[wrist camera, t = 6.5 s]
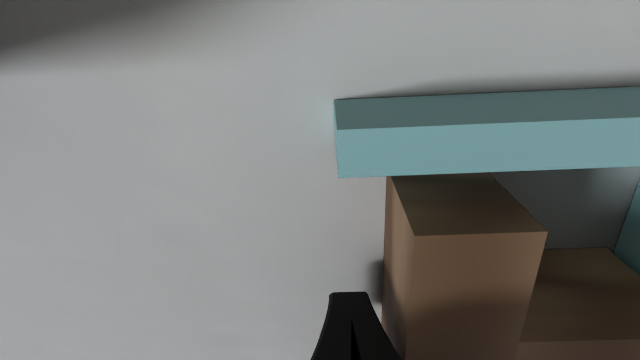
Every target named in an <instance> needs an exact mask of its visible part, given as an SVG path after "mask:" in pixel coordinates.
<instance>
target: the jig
mask: <svg viewBox="0 0 640 360" xmlns="http://www.w3.org/2000/svg"><path fill="white" fill-rule="evenodd" d="M334 127H335V145H336V156H337V167H338V178H349V177H375V176H401V175H427V174H453V173H480V172H506V171H532V170H558V169H584V168H610V167H637V166H640V86H639V87H616V88H593V89H571V90H548V91H525V92H502V93H479V94H457V95H434V96H411V97H388V98H365V99H343V100H334ZM613 254H614V255H615V256H616V257H618V258H619V259H620V260H621V261H622V262H624V263H625V264H626V265H627V266H628V267H629V268H631V269H632V270H633V271H634V272H635V273H636V274H638V275H639V276H640V180H639V183H638V186H637V189H636V191H635V194H634V197H633V200H632V202H631V205H630V208H629V211H628V214H627V216H626V219H625V222H624V225H623V227H622V230H621V233H620V236H619V239H618V241H617V244H616V247H615V250H614V252H613Z"/></svg>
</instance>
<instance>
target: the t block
mask: <svg viewBox="0 0 640 360" xmlns="http://www.w3.org/2000/svg"><path fill="white" fill-rule="evenodd" d="M547 234H548V231H547V230H546V229H545V228H544V227H543V226H542V225H541V224H540V223H539V222H538V221H537V220H536V219H535V218H534V217H533V216H532V215H531V214H530V213H529V212H528V211H527V210H526V209H525V208H524V207H523V206H522V205H521V204H520V203H519V202H518V201H517V200H516V199H515V198H514V197H513V196H512V195H511V194H510V193H509V192H508V191H507V190H506V189H505V188H504V187H503V186H502V185H501V184H500V183H499V182H498V181H497V180H496V179H495V178H494V177H493V176H492V175H491V174H490V173H489V172H480V173H453V174H427V175H401V176H387V178H386V207H385V235H384V264H383V293H382V322H381V325H382V327H383V329H384V331H385V332H386V334H387V336H388V338H389V339H390V341H391V343H392V344H393V346H394V348H395V349H396V351H397V353H398V354H399V356H400V357H401V359H402V360H640V276H639V275H638V274H636V273H635V272H634V271H633V270H632V269H631V268H629V267H628V266H627V265H626V264H625V263H624V262H622V261H621V260H620V259H619V258H618V257H616V256H615V255H614V254H613V253H612V252H611V251H609V250H608V249H607V248H606V247H601V248H570V249H544V245H545V241H546V238H547Z"/></svg>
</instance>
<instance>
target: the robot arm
mask: <svg viewBox="0 0 640 360" xmlns="http://www.w3.org/2000/svg"><path fill="white" fill-rule="evenodd" d="M311 360H402V359H401V357H400V356H399V354H398V353H397V351H396V349H395V348H394V346H393V344H392V343H391V341H390V339H389V338H388V336H387V334H386V332H385V331H384V329H383V327H382V325H381V323H380V321H379V319H378V317H377V315H376V313H375V311H374V309H373V306H372V304H371V301H370V299H369V296H368V294H367V293H366V292H334V293H331V294H330V295H329V304H328V310H327V314H326V318H325V322H324V325H323V328H322V331H321V334H320V337H319V340H318V343H317V346H316V348H315V351H314V353H313V356H312V358H311Z"/></svg>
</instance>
